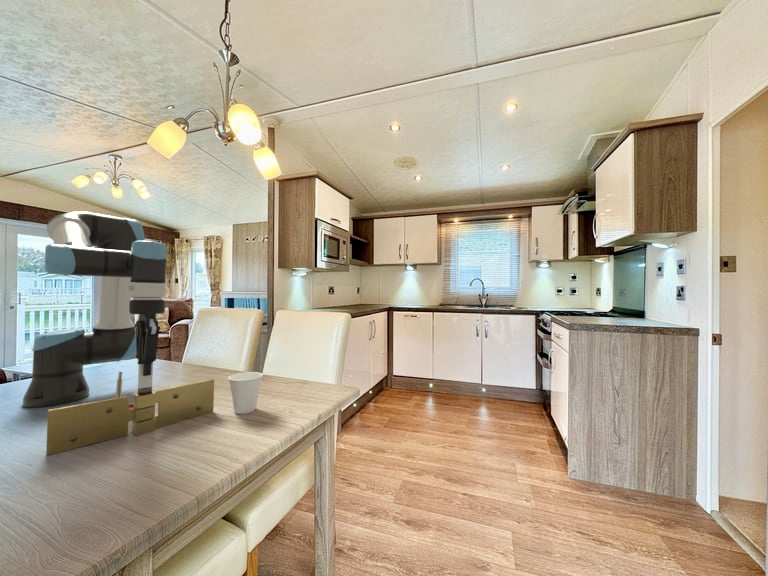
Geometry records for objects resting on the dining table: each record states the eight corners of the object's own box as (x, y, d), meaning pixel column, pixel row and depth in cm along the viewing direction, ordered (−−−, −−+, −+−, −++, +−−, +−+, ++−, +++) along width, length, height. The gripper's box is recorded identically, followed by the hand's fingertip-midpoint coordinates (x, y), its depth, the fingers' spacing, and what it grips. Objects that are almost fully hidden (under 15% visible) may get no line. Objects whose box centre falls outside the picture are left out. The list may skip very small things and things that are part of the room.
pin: (135, 428, 79) (136, 388, 79) (149, 425, 82) (150, 385, 82) (138, 432, 77) (139, 390, 78) (152, 428, 80) (153, 387, 80)
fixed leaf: (132, 431, 79) (133, 393, 79) (209, 409, 94) (210, 378, 94) (136, 435, 77) (137, 396, 77) (215, 413, 92) (216, 380, 92)
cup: (222, 410, 94) (223, 375, 94) (254, 402, 101) (254, 370, 101) (234, 420, 87) (235, 382, 87) (267, 410, 94) (268, 376, 94)
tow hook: (132, 405, 98) (101, 415, 89) (135, 365, 99) (105, 371, 90) (154, 407, 97) (126, 418, 87) (157, 367, 97) (129, 373, 88)
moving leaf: (47, 450, 68) (48, 408, 69) (151, 425, 82) (152, 389, 82) (45, 457, 66) (47, 413, 66) (154, 430, 79) (155, 393, 80)
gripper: (123, 298, 81) (120, 385, 81) (136, 299, 73) (133, 396, 73) (157, 298, 87) (154, 379, 87) (172, 299, 79) (169, 388, 78)
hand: (145, 387), depth 80 cm, fingers closed
